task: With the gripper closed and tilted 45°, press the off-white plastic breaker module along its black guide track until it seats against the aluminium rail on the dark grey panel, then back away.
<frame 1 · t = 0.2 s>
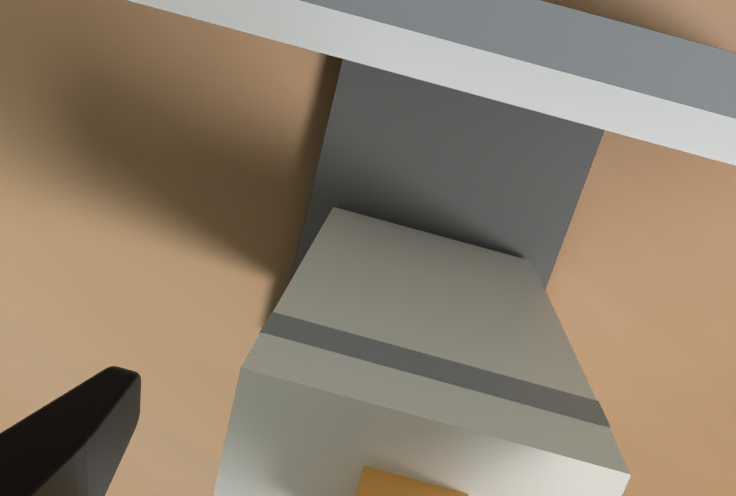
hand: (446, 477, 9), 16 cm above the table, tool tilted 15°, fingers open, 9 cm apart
module: (412, 378, 17), point 8 cm above the table, slide at 0.0 cm
din panel: (489, 34, 22), on the table
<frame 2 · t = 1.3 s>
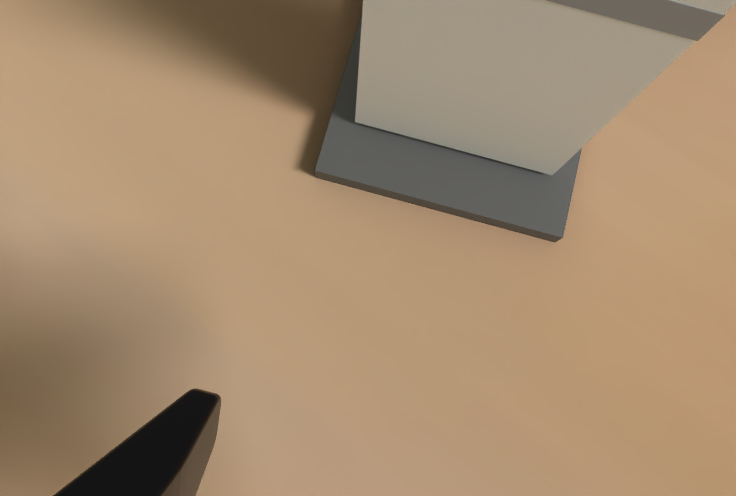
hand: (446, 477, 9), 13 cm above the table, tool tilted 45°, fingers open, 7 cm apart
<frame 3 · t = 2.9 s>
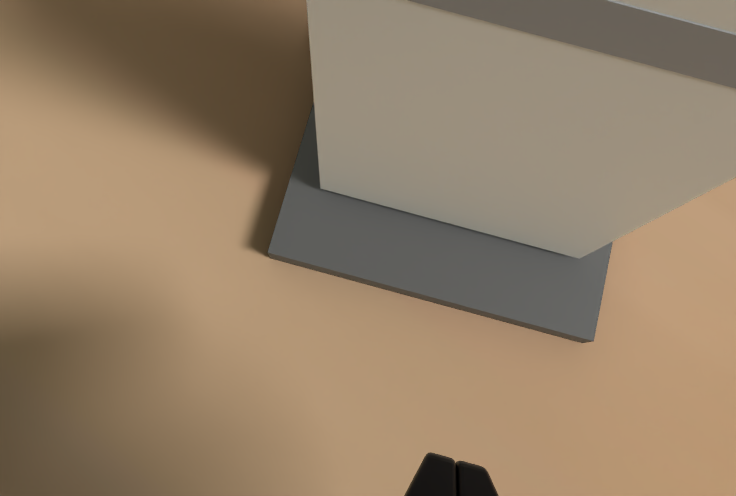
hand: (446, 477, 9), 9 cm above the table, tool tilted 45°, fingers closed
module: (544, 18, 11), point 8 cm above the table, slide at 0.0 cm
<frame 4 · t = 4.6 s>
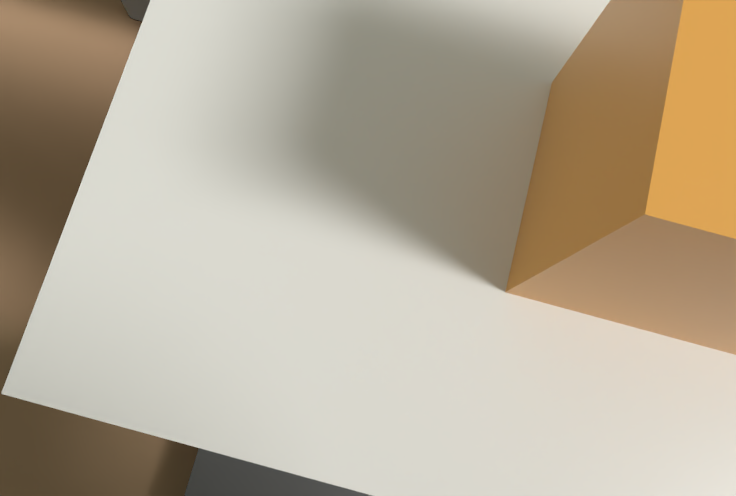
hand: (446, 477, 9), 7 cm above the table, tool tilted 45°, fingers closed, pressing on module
module: (492, 315, 9), point 8 cm above the table, slide at 1.6 cm, touching gripper
din panel: (482, 92, 18), on the table
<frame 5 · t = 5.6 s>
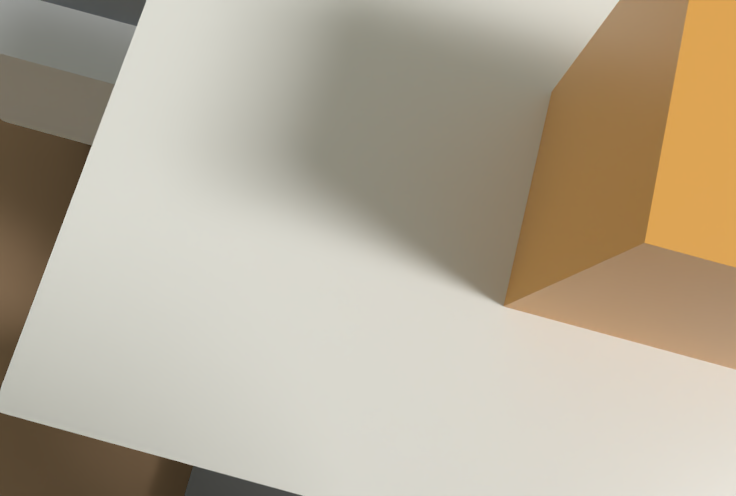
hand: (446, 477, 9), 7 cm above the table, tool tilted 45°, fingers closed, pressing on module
module: (492, 318, 9), point 8 cm above the table, slide at 5.3 cm, touching din panel, gripper
din panel: (452, 215, 18), on the table
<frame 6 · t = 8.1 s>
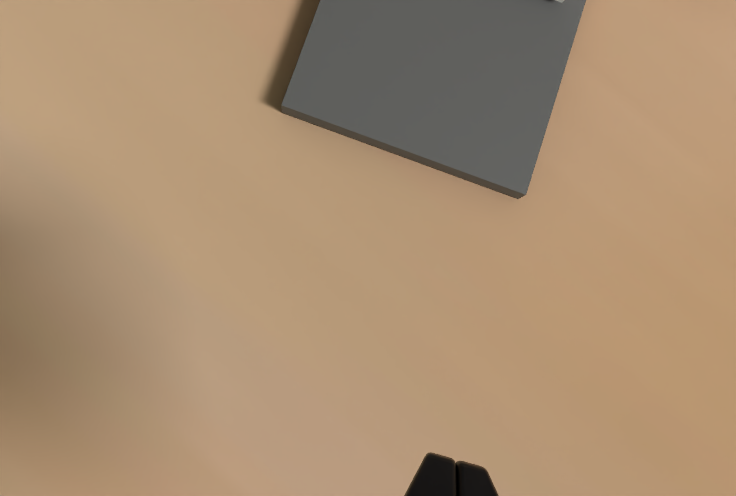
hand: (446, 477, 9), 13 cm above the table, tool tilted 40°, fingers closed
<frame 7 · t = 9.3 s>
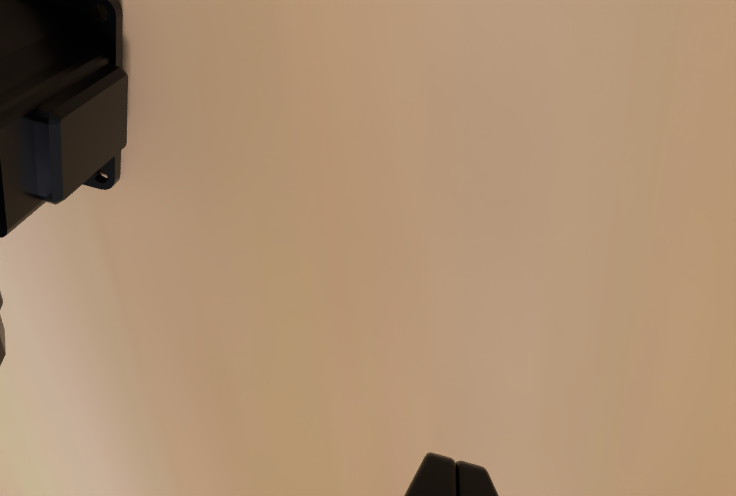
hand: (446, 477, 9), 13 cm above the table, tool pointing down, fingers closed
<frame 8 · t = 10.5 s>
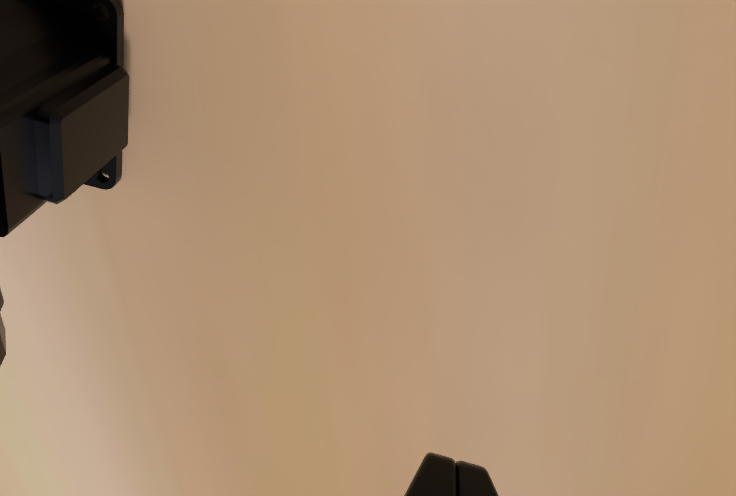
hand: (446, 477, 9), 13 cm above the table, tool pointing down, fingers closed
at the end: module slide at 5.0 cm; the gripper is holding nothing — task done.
